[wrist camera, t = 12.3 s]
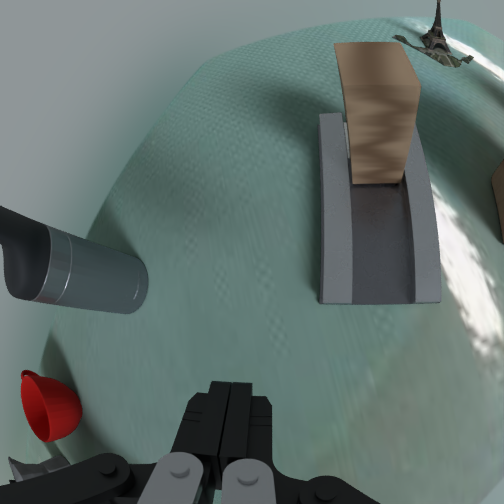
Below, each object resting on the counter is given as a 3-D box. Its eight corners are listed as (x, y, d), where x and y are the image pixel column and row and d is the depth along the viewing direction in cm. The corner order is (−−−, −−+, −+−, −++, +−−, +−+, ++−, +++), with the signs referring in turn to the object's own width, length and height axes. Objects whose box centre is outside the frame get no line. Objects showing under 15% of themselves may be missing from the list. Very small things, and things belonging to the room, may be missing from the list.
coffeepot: (50, 456, 41) (-3, 464, 24) (56, 442, 41) (-4, 450, 24) (84, 503, 34) (30, 520, 18) (92, 493, 34) (32, 513, 18)
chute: (320, 304, 30) (316, 302, 28) (318, 127, 36) (314, 114, 33) (438, 302, 25) (446, 301, 23) (413, 124, 31) (415, 111, 28)
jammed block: (352, 183, 31) (343, 85, 16) (348, 143, 32) (333, 43, 18) (400, 183, 29) (421, 85, 14) (393, 142, 30) (400, 42, 16)
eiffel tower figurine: (390, 39, 36) (385, -16, 24) (413, 25, 35) (411, -24, 23) (457, 76, 30) (467, 18, 18) (474, 59, 29) (483, 8, 17)
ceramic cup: (56, 349, 45) (18, 347, 36) (98, 406, 38) (54, 414, 29) (46, 390, 44) (12, 392, 35) (85, 445, 37) (47, 454, 28)
